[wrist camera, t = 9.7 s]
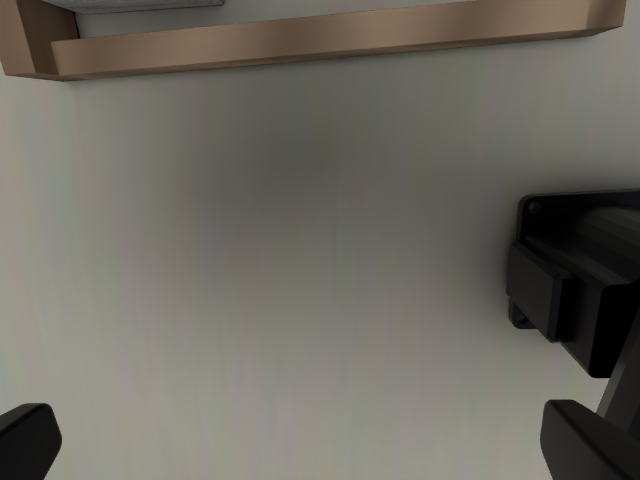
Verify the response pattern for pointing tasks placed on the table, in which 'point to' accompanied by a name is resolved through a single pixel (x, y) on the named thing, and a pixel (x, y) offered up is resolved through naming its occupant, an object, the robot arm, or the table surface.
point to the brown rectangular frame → (284, 36)
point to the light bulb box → (127, 5)
